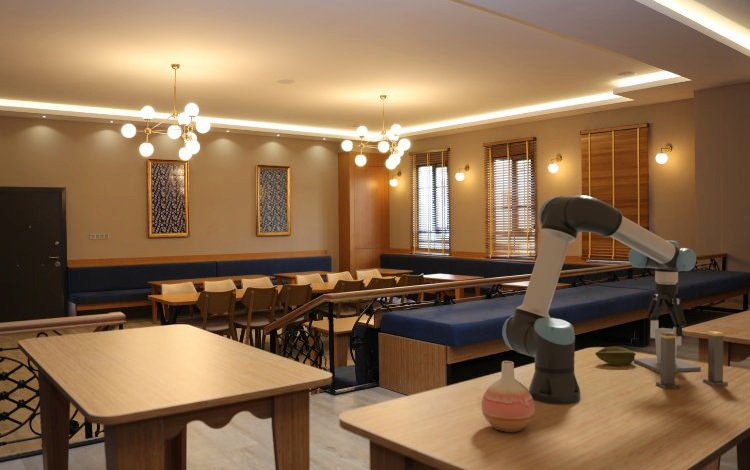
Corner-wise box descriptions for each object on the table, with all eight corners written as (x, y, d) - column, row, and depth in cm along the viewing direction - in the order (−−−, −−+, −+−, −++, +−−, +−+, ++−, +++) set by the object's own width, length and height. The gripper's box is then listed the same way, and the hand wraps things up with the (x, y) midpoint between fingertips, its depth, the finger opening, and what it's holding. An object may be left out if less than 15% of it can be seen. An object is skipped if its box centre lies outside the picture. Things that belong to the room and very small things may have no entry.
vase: (524, 441, 155) (524, 371, 154) (473, 432, 162) (473, 364, 162) (541, 425, 167) (541, 359, 166) (493, 417, 174) (492, 354, 173)
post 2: (713, 386, 202) (714, 334, 201) (703, 382, 207) (703, 331, 206) (727, 385, 202) (728, 333, 202) (717, 381, 207) (717, 330, 207)
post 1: (665, 389, 199) (665, 336, 198) (655, 384, 204) (656, 333, 203) (679, 388, 200) (679, 335, 199) (669, 383, 205) (670, 332, 204)
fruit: (627, 369, 224) (628, 351, 224) (594, 365, 231) (594, 347, 231) (637, 363, 233) (637, 345, 233) (605, 359, 240) (605, 342, 240)
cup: (681, 365, 223) (681, 332, 223) (657, 365, 225) (657, 332, 224) (674, 360, 231) (674, 328, 231) (651, 360, 232) (651, 328, 232)
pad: (659, 372, 219) (659, 369, 219) (633, 362, 235) (633, 359, 235) (700, 370, 221) (700, 367, 221) (672, 360, 237) (672, 357, 237)
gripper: (698, 286, 215) (697, 348, 216) (655, 279, 240) (654, 334, 240) (678, 286, 214) (677, 348, 215) (637, 279, 239) (636, 335, 239)
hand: (665, 341), depth 227 cm, fingers open, 13 cm apart
